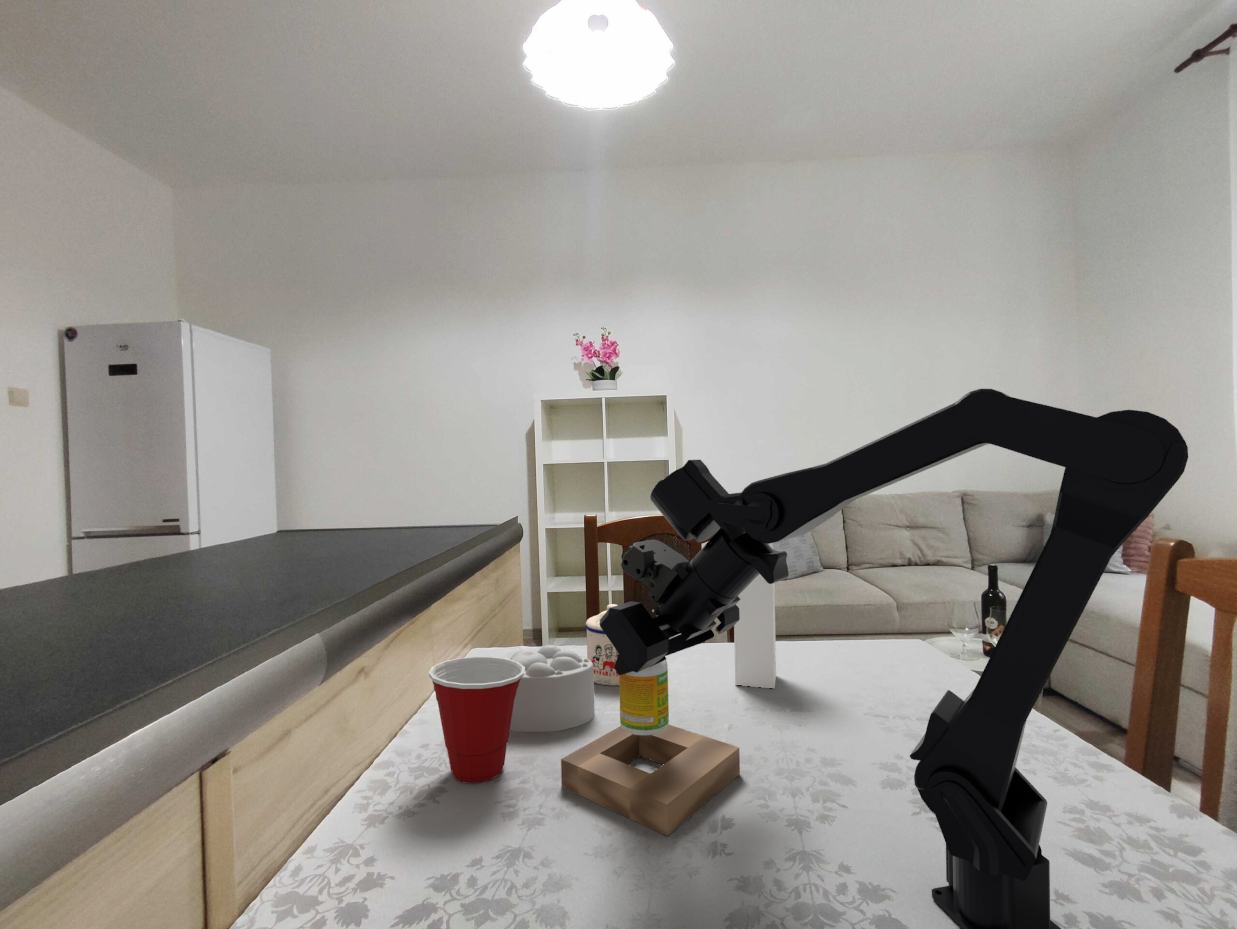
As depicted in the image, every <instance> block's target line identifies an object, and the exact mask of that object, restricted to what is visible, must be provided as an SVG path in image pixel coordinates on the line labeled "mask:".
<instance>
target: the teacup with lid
mask: <svg viewBox="0 0 1237 929" xmlns="http://www.w3.org/2000/svg"><path fill="white" fill-rule="evenodd" d="M618 605H619V604H617V603H616V604H615V603H610V604H607V605H606V610H603V611H602V612H600V613H599V614H597V615H593V616H591V617H589V618H587V620H586V622H585V624H584V625H585V626H584V627H585V629H586V654H587V655H586V658H587V659H589V660H590V661H591V662H592V663H593V666H594V684H597V685H602V686H611V687H612V686H614V687H615V686H619V675H618V673H617V672H616V670H615V669H614V666H615V663H616V660H617V657H618V654H619V653H618V652H617V650H616V649H615V647H614V646H613V644H612V643H611V641H610V640H609V639H608V637H607V636H606V634H605V633H604V631H603V630H602V628H601V627H600V619H601V618H602V617H603V615H604V614H605V613H606V612H607V611H608V610H609V608H611V607H614V606H618Z"/></svg>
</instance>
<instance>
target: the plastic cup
mask: <svg viewBox="0 0 1237 929" xmlns="http://www.w3.org/2000/svg"><path fill="white" fill-rule="evenodd" d="M524 673H525V667H524V666H523V665H522V664H520V663H519V662H516V661H513V660H509V659H506V658H504V657H496V656H469V657H458V658H454V659H449V660H448V659H447V660H445V661H441V662H439V663H436V664H435V665H432V666H431V668H430V669H429V671H428V677H429V678H430V679H431V681H432V685H433V690H434V691H435V699H436V702H437V705H438V706H437V707H438V711H439V716H440V722H441V728H442V734H443V740H444V745H445V748H446V751H447V756H448V762H449V767H450V770H451V773H452V776H453V777H454V779H455V780H456V781H458V782H460V783H465V784H480V783H484V782H488V781H491V780H493V779H494V778H496V777H498V776H499V775H500V774H501V773H502V772H503V770H504V766H505V762H506V753H507V747H508V746H507V745H508V742H509V738H510V732H511V731H510V726H511V719H512V712H513V706H514V699H515V697H516V692H517V688H518V685H519V682H520V679H521V678H522V677H523V676H524Z"/></svg>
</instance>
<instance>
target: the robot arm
mask: <svg viewBox="0 0 1237 929" xmlns="http://www.w3.org/2000/svg"><path fill="white" fill-rule="evenodd" d="M987 445H993V446H996V447H999V448H1003V449H1005V450H1009V451H1012V452H1014V453H1018V454H1022V455H1024V456H1026V457H1031V458H1034V459H1036V460H1040V461H1043V462H1046V463H1050V464H1053V465H1057V466H1060V467H1063V468H1064V471H1063V475H1062V476H1063V477H1062V479H1061V484H1060V487H1059V491H1058V496H1057V502H1056V507H1055V511H1054V517H1053V521H1052V525H1051V530H1050V534H1049V535H1048V538H1047V541H1046V542H1045V544H1044V547H1043V548H1042V550H1041V552H1040V554H1039V557H1038V559H1037V560H1036V562H1035V565H1034V566H1033V569H1032V570H1031V573H1030V575H1029V577H1028V578H1027V581H1026V583H1025V586H1024V587H1023V589H1022V591H1021V594H1020V596H1019V598H1018V600H1017V601H1016V604H1015V605H1014V608H1013V610H1012V611H1011V614H1010V616H1009V618H1008V619H1007V622H1006V623H1005V626H1004V628H1003V630H1002V632H1001V633H1000V635H999V638H998V640H997V641H996V642H997V643H996V645H995V647H994V649H993V651H992V653H991V655H990V656H989V659H988V661H987V663H986V665H985V667H984V669H983V671H982V672H981V675H980V677H979V679H978V682H977V683H976V685H975V688H974V689H973V690H972V691H970V693H969V694H968V695H967V697H966V698H964V700H963V699H962V698H961V697H959V696H958V695H956V693H954V692H953V691H951V690H949V689H948V690H946V692H945V693H944V695H943V696H942V698H941V699H940V700H939V702H938V703H937V705H936V706H935V707H934V708H933V710H932V711H931V713H930V716H929V719H928V722H927V725H926V730H925V732H924V734H923V736H922V737H921V738H920V740H919V742H918V743H917V744H916V746H915V747H914V748H913V750H912V751H911V753H910V754H909V757H910V759H911V760H914V761H918V763H917V765H916V766H915V771H914V775H913V778H914V780H913V782H914V786H915V788H916V789H917V791H918V793H919V796H920V798H921V801H923V803H924V804H925V806H926V807H927V808H928V809H929V811H930V812H932V814H934V815H935V817H936V820H937V823H938V826H939V829H940V831H941V834H942V837H943V839H944V842H945V870H946V871H945V873H946V876H945V879H946V882H947V883H948V885H945V886H940V887H934V888H931V898H932V899H933V900H934V901H935V902H936V903H937V904H938V906H940V907H941V908H942V909H943V911H945V912H946V913H947V914H948V915H949V916H950V917H951V918H952V919H953V920H954V921H955V923H957V925H959V927H961V929H1062V928H1061V927H1060V926H1058V924H1056V923H1055V922H1054V921H1052V920H1051V888H1050V887H1051V884H1050V883H1051V875H1050V874H1051V872H1050V871H1051V870H1050V869H1051V868H1050V860H1049V859H1048V858H1047V857H1045V856H1044V855H1043V854H1042V853H1043V852H1042V847H1041V845H1040V842H1041V836H1042V832H1043V825H1044V821H1045V817H1046V812H1047V807H1048V800H1047V799H1046V798H1045V797H1044V796H1043V795H1042V794H1041V793H1040V791H1038V790H1037V788H1035V786H1034V785H1033V784H1032V783H1031V782H1030V781H1029V780H1028V779H1027V777H1025V776H1024V775H1023V773H1022V772H1020V770H1019V769H1018V768H1017V767H1016V765H1017V761H1018V758H1019V754H1020V750H1021V746H1022V741H1023V737H1024V733H1025V728H1026V724H1027V719H1028V718H1029V716H1030V713H1031V712H1032V710H1033V708H1034V706H1035V704H1036V703H1037V701H1038V699H1039V697H1040V695H1041V693H1042V691H1043V690H1044V687H1045V685H1046V683H1047V682H1048V680H1049V677H1050V676H1051V673H1052V672H1053V669H1054V668H1055V666H1056V664H1057V662H1058V660H1059V658H1060V656H1061V655H1062V652H1063V650H1064V649H1065V648H1066V645H1067V643H1068V641H1069V639H1070V637H1071V635H1072V633H1073V631H1074V629H1075V628H1076V626H1077V624H1078V623H1079V622H1078V621H1079V620H1080V618H1081V617H1082V614H1083V612H1084V611H1085V609H1086V607H1087V605H1088V603H1089V601H1090V599H1091V597H1092V595H1093V594H1094V591H1095V589H1096V587H1097V586H1098V584H1099V582H1100V580H1101V578H1102V576H1103V574H1104V572H1105V570H1106V568H1107V567H1108V564H1109V563H1110V562H1111V559H1112V558H1113V557H1114V554H1115V553H1116V552H1117V551H1118V550H1119V549H1120V548H1121V547H1122V546H1123V544H1124V543H1125V542H1126V541H1127V540H1128V539H1129V538H1130V537H1131V536H1132V534H1133V533H1134V532H1135V531H1136V530H1137V529H1138V528H1139V527H1140V526H1141V525H1142V523H1143V522H1144V521H1145V520H1146V519H1148V517H1149V516H1150V514H1151V513H1152V512H1153V511H1154V510H1155V508H1157V506H1158V505H1159V503H1160V502H1162V500H1163V499H1164V498H1165V497H1166V496H1167V494H1168V493H1169V492H1170V490H1171V489H1172V488H1173V487H1174V486H1175V484H1176V483H1177V482H1178V481H1179V480H1180V478H1181V477H1182V475H1183V474H1184V472H1185V469H1186V466H1187V462H1188V460H1189V447H1188V445H1187V442H1186V440H1185V438H1184V437H1183V435H1182V434H1181V432H1180V431H1179V429H1178V428H1177V426H1175V425H1173V424H1172V423H1171V422H1170V421H1168V419H1165V418H1164V417H1162V416H1159V415H1157V414H1154V413H1152V412H1149V411H1143V410H1136V409H1135V410H1134V409H1124V410H1116V411H1110V412H1107V413H1105V414H1101V415H1099V416H1092V415H1088V414H1085V413H1080V412H1076V411H1073V410H1068V409H1064V408H1059V407H1055V406H1050V405H1048V404H1047V405H1046V404H1044V403H1043V404H1042V403H1038V402H1035V401H1029V400H1025V399H1022V398H1021V399H1020V398H1018V397H1017V398H1016V397H1012V396H1010V395H1008V394H1006V393H1004V392H1002V391H999V390H995V389H993V388H978V389H974V390H972V391H969V392H968V393H966V394H964V395H963V396H961V397H960V399H957V400H956V401H955V402H954V403H952V404H949V405H947V406H945V407H943V408H941V409H939V410H937V411H935V412H932V413H930V414H928V415H925V416H924V417H922V418H920V419H917V420H915V421H913V422H911V423H909V424H906V425H905V426H903V427H900V428H898V429H896V430H894V431H892V432H889V433H887V434H885V435H883V436H881V437H879V438H877V439H875V440H873V441H871V442H869V443H867V444H865V445H862V446H860V447H858V448H855V449H854V450H851V451H849V452H847V453H845V454H843V455H841V456H838V457H837V458H834V459H832V460H831V461H828V462H826V463H822V464H818V465H815V466H812V467H811V466H810V467H807V468H802V469H798V470H793V471H789V472H785V473H781V474H778V475H774V476H771V477H767V478H764V479H758V480H756V481H753V482H751V483H750V484H748V485H747V486H745V487H744V489H742V490H741V492H734V493H729V492H728V491H727V490H726V489H725V488H724V486H722V484H720V482H719V480H717V479H716V477H714V475H713V474H712V473H711V472H710V470H709V468H708V466H707V465H706V464H705V463H704V461H702V460H701V459H687V461H686V463H685V464H684V465H683V466H681V467H680V468H678V469H675V470H674V471H673V472H671V473H670V474H668V475H667V476H666V477H664V479H661V480H659V481H658V482H657V484H655V486H654V487H653V488H652V490H651V493H650V501H651V502H652V503H653V505H654V506H655V508H657V509H658V511H659V513H661V515H662V516H663V517H664V518H665V519H666V521H667V522H668V523H669V524H670V526H671V527H672V528H673V530H675V531H676V533H677V534H678V535H679V537H680V538H681V539H682V540H683V541H684V542H685V541H686V542H688V541H691V540H694V539H695V541H696V542H697V543H701V542H705V541H707V540H708V539H709V540H708V541H707V543H705V544H704V546H702V548H701V549H699V551H698V552H697V554H696V555H695V556H694V557H693V558H692V559H691V560H690V561H689V560H688V559H686V557H685V556H684V555H683V554H681V553H679V552H678V551H676V550H675V549H673V548H672V547H670V546H669V545H668V544H665V543H664V542H662V541H660V540H658V539H648V540H643V541H636V542H634V543H633V544H632V545H629V546H628V547H627V550H626V551H625V552H623V553H622V554H621V555H620V556H621V560H622V561H621V563H620V566H621V570H622V571H623V572H624V573H626V574H627V575H628V576H630V577H631V578H633V579H634V580H636V581H638V580H639V581H641V582H642V583H643V584H645V585H646V586H648V587H650V588H651V590H650V591H649V592H648V593H647V594H648V596H649V597H650V598H651V600H652V602H654V603H655V604H656V603H657V604H658V606H656V607H654V608H653V609H652V610H651V611H652V613H653V615H654V616H655V617H652V615H651V614H650V613H649V611H648V610H647V608H645V606H644V605H643V603H642V602H639V601H628V602H624V603H622V604H617V605H618V606H614V607H611V608H609V610H608V611H607V612H606V613H605V614H604V615H603V617H602V618H601V619H600V627H601V628H602V630H603V631H604V633H605V634H606V636H607V637H608V639H609V640H610V641H611V643H612V644H613V646H614V647H615V649H616V650H617V652H618V653H619V654H618V657H617V660H616V663H615V666H614V669H615V670H616V672H617V673H618V675H623V674H626V673H629V672H633V671H634V672H636V673H637V672H639V671H641V670H644V669H646V668H648V667H651V666H654V665H656V664H658V663H660V662H662V661H664V660H666V661H667V657H666V656H669V655H672V654H675V653H678V652H680V651H683V650H687V649H690V648H692V647H695V646H698V645H700V644H703V643H705V642H707V641H709V640H712V639H713V638H714V637H715V633H714V631H713V630H712V629H713V628H714V627H715V626H716V625H717V622H716V619H717V620H718V621H719V622H720V623H719V624H718V625H717V626H716V627H715V632H716V633H717V634H718V635H721V634H723V633H725V632H727V631H729V630H731V629H732V628H734V625H735V624H736V623H737V622H738V621H739V620H740V617H739V608H738V606H737V605H736V604H737V603H738V602H739V601H740V600H741V599H740V598H739V597H738V595H739V594H740V593H741V592H742V591H743V590H744V589H745V588H746V587H747V586H748V585H749V584H750V583H751V582H752V581H753V580H754V579H755V578H756V577H757V576H758V575H759V574H760V575H761V576H762V577H763V578H764V579H765V580H766V582H767V583H769V584H773V583H778V582H781V581H783V580H787V578H789V576H790V573H789V567H788V563H787V558H788V553H787V552H786V551H785V550H784V551H778V550H775V549H774V548H773V549H772V548H771V547H770V546H769V544H770V543H773V544H774V543H777V542H778V543H779V542H782V541H786V540H791V539H794V538H797V537H801V536H804V535H806V534H808V533H810V532H811V531H813V530H814V529H816V528H817V527H819V526H820V525H822V524H824V523H825V522H826V521H829V519H832V517H834V516H835V515H836V514H838V513H839V512H840V511H842V510H843V509H844V508H845V507H847V506H848V505H850V504H851V503H853V502H855V501H856V500H858V499H860V498H862V497H865V496H867V495H869V494H872V493H874V492H876V491H879V490H881V489H884V488H886V487H889V486H891V485H894V484H896V483H898V482H901V481H902V480H905V479H908V478H910V477H912V476H915V475H917V474H919V473H922V472H924V471H927V470H930V469H931V468H934V467H937V466H939V465H942V464H943V463H946V462H948V461H951V460H953V459H955V458H957V457H960V456H962V455H965V454H968V453H970V452H973V451H975V450H978V449H980V448H981V447H984V446H987Z"/></svg>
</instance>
